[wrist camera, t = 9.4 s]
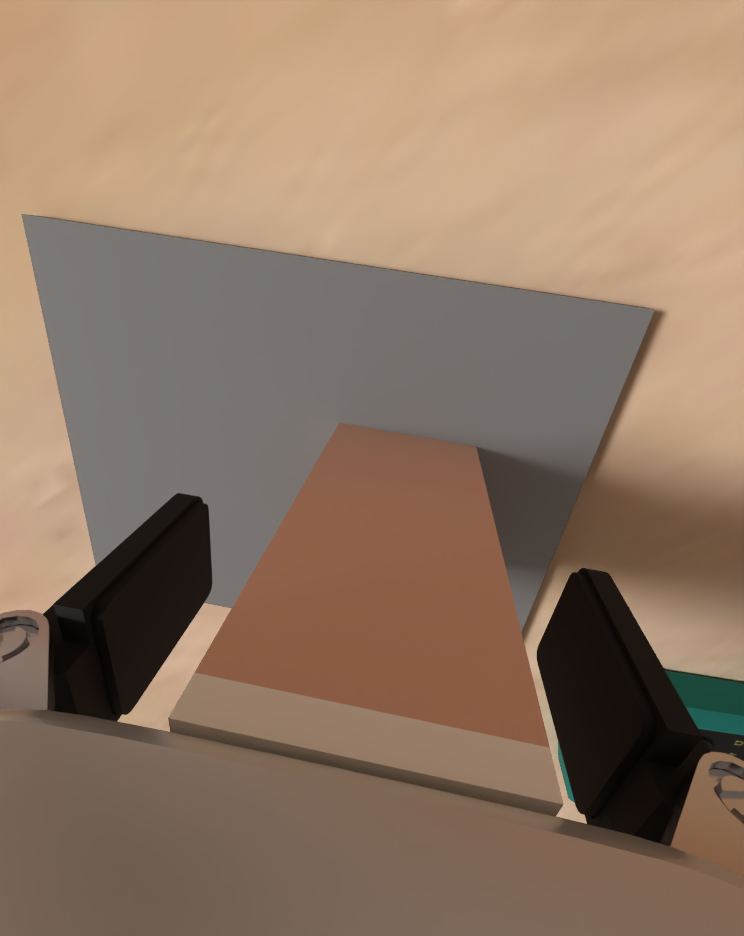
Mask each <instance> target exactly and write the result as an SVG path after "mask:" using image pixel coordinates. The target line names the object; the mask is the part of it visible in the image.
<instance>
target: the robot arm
mask: <svg viewBox="0 0 744 936" xmlns="http://www.w3.org/2000/svg"><path fill="white" fill-rule="evenodd" d="M211 589H212V562H211V543H210V523H209V507H208V505H207V504H205V503H203V500H202V498H201V497H198V496H193V495H188V494H182V493H177V494H175V495H174V496H173V497H172V498H171V499H170V500H168V501H167V502H166V503H165V504H164V505H163V506H162V507H161V508H160V509H158V510H157V511H156V512H155V513H154V514H153V515H152V516H151V517H150V518H148V519H147V520H146V521H145V522H144V523H143V524H142V525H141V526H140V527H138V528H137V529H136V530H135V531H134V532H133V533H132V534H131V535H130V536H128V537H127V538H126V539H125V540H124V541H123V542H122V543H121V544H120V545H118V546H117V547H116V548H115V549H114V550H113V551H112V552H111V553H110V554H108V555H107V556H106V557H105V558H104V559H103V560H102V561H101V562H100V563H98V564H97V565H96V566H95V567H94V568H93V569H92V570H91V571H90V572H88V573H87V574H86V575H85V576H84V577H83V578H82V579H81V580H80V581H78V582H77V583H76V584H75V585H74V586H73V587H72V588H71V589H70V590H69V591H67V592H66V593H65V594H64V595H63V596H62V597H61V598H60V599H59V600H57V601H56V602H55V603H54V604H53V606H51V607H50V608H49V609H48V610H47V611H46V612H45V613H44V614H43V615H42V614H41V613H38V612H35V611H31V610H16V611H11V612H5V613H1V614H0V936H744V761H742V760H741V759H739V758H736V757H734V756H731V755H729V754H726V753H720V752H709V750H708V748H707V746H706V745H705V743H704V741H703V739H702V738H703V736H702V735H701V733H700V731H699V729H698V728H697V726H696V724H695V722H694V721H693V719H692V717H691V715H690V714H689V712H688V710H687V708H686V707H685V705H684V703H683V701H682V700H681V698H680V696H679V694H678V693H677V691H676V689H675V687H674V686H673V684H672V682H671V680H670V679H669V677H668V675H667V674H666V672H665V670H664V668H663V667H662V665H661V663H660V661H659V660H658V658H657V656H656V654H655V653H654V651H653V649H652V647H651V646H650V644H649V642H648V640H647V639H646V637H645V635H644V633H643V632H642V630H641V628H640V626H639V625H638V623H637V621H636V619H635V618H634V616H633V614H632V612H631V611H630V609H629V607H628V606H627V604H626V602H625V600H624V599H623V597H622V595H621V593H620V592H619V590H618V588H617V586H616V585H615V583H614V581H613V579H612V578H611V576H610V575H609V574H608V573H606V572H602V571H597V570H592V569H586V568H581V569H580V570H579V571H578V573H576V572H574V573H572V574H571V575H570V577H569V579H568V581H567V583H566V586H565V588H564V590H563V592H562V594H561V597H560V599H559V601H558V603H557V606H556V608H555V610H554V612H553V615H552V617H551V619H550V621H549V623H548V626H547V628H546V630H545V632H544V635H543V637H542V639H541V641H540V643H539V646H538V649H537V662H538V666H539V670H540V674H541V677H542V681H543V685H544V689H545V692H546V696H547V700H548V704H549V708H550V711H551V715H552V719H553V723H554V726H555V730H556V734H557V738H558V741H559V745H560V749H561V753H562V756H563V760H564V764H565V768H566V771H567V775H568V779H569V783H570V786H571V790H572V794H573V798H574V801H575V805H576V808H577V809H578V811H579V812H580V813H581V814H584V815H585V817H586V821H587V824H584V823H580V822H576V821H572V820H568V819H564V818H559V817H555V816H551V815H547V814H543V813H538V812H534V811H529V810H525V809H520V808H516V807H511V806H507V805H503V804H498V803H494V802H489V801H485V800H480V799H476V798H471V797H467V796H462V795H458V794H453V793H449V792H445V791H440V790H436V789H431V788H427V787H422V786H418V785H413V784H409V783H404V782H399V781H395V780H390V779H386V778H381V777H377V776H372V775H367V774H363V773H358V772H354V771H349V770H345V769H340V768H335V767H331V766H326V765H322V764H317V763H312V762H308V761H303V760H299V759H294V758H289V757H285V756H280V755H276V754H271V753H266V752H261V751H257V750H252V749H247V748H243V747H238V746H233V745H228V744H224V743H219V742H214V741H210V740H205V739H200V738H195V737H191V736H186V735H181V734H177V733H172V732H167V731H162V730H158V729H152V728H147V727H142V726H137V725H132V724H126V723H121V722H117V721H118V719H119V718H120V716H121V715H122V714H124V715H126V714H128V713H129V712H131V710H132V709H133V708H134V707H135V705H136V704H137V702H138V701H139V699H140V698H141V696H142V695H143V693H144V692H145V690H146V689H147V687H148V686H149V684H150V683H151V681H152V680H153V678H154V677H155V675H156V674H157V672H158V671H159V669H160V668H161V666H162V665H163V663H164V662H165V660H166V659H167V657H168V656H169V654H170V653H171V651H172V650H173V648H174V647H175V645H176V644H177V642H178V641H179V639H180V638H181V636H182V635H183V633H184V632H185V630H186V629H187V627H188V626H189V624H190V623H191V621H192V620H193V619H194V617H195V616H196V614H197V613H198V611H199V610H200V608H201V607H202V605H203V604H204V602H205V601H206V599H207V598H208V596H209V594H210V592H211Z"/></svg>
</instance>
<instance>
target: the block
mask: <svg viewBox="0 0 744 936" xmlns="http://www.w3.org/2000/svg"><path fill="white" fill-rule="evenodd" d="M168 719H169V726H170V732H172V733H177V734H181V735H186V736H191V737H195V738H200V739H205V740H210V741H214V742H219V743H224V744H228V745H233V746H238V747H243V748H247V749H252V750H257V751H261V752H266V753H271V754H276V755H280V756H285V757H289V758H294V759H299V760H303V761H308V762H312V763H317V764H322V765H326V766H331V767H335V768H340V769H345V770H349V771H354V772H358V773H363V774H367V775H372V776H377V777H381V778H386V779H390V780H395V781H399V782H404V783H409V784H413V785H418V786H422V787H427V788H431V789H436V790H440V791H445V792H449V793H453V794H458V795H462V796H467V797H471V798H476V799H480V800H485V801H489V802H494V803H498V804H503V805H507V806H511V807H516V808H520V809H525V810H529V811H534V812H538V813H543V814H547V815H551V816H555V817H556V815H557V814H558V812H559V810H560V809H561V807H562V806H563V800H562V796H561V792H560V788H559V784H558V780H557V776H556V772H555V768H554V763H553V759H552V755H551V751H550V747H549V743H548V739H547V735H546V731H545V727H544V723H543V718H542V714H541V710H540V706H539V702H538V698H537V694H536V690H535V686H534V682H533V677H532V673H531V669H530V665H529V661H528V657H527V653H526V649H525V645H524V641H523V637H522V632H521V628H520V624H519V620H518V616H517V612H516V608H515V604H514V600H513V596H512V591H511V587H510V583H509V579H508V575H507V571H506V567H505V563H504V559H503V555H502V551H501V546H500V542H499V538H498V534H497V530H496V526H495V522H494V518H493V514H492V510H491V505H490V501H489V497H488V493H487V489H486V485H485V481H484V477H483V473H482V469H481V465H480V460H479V456H478V452H477V448H476V447H475V446H469V445H463V444H458V443H452V442H446V441H440V440H435V439H429V438H423V437H418V436H412V435H406V434H401V433H395V432H389V431H384V430H378V429H372V428H366V427H361V426H355V425H349V424H344V423H339V424H338V426H337V428H336V429H335V431H334V433H333V435H332V436H331V438H330V440H329V441H328V443H327V445H326V447H325V448H324V450H323V452H322V454H321V455H320V457H319V459H318V460H317V462H316V464H315V466H314V467H313V469H312V471H311V473H310V474H309V476H308V478H307V479H306V481H305V483H304V485H303V486H302V488H301V490H300V492H299V493H298V495H297V497H296V498H295V500H294V502H293V504H292V505H291V507H290V509H289V511H288V512H287V514H286V516H285V517H284V519H283V521H282V523H281V524H280V526H279V528H278V530H277V531H276V533H275V535H274V536H273V538H272V540H271V542H270V543H269V545H268V547H267V549H266V550H265V552H264V554H263V555H262V557H261V559H260V561H259V562H258V564H257V566H256V568H255V569H254V571H253V573H252V574H251V576H250V578H249V580H248V581H247V583H246V585H245V587H244V588H243V590H242V592H241V593H240V595H239V597H238V599H237V600H236V602H235V604H234V606H233V607H232V609H231V611H230V612H229V614H228V616H227V618H226V619H225V621H224V623H223V625H222V626H221V628H220V630H219V631H218V633H217V635H216V637H215V638H214V640H213V642H212V644H211V645H210V647H209V649H208V650H207V652H206V654H205V656H204V657H203V659H202V661H201V663H200V664H199V666H198V668H197V669H196V671H195V673H194V675H193V676H192V678H191V680H190V682H189V683H188V685H187V687H186V688H185V690H184V692H183V694H182V695H181V697H180V699H179V701H178V702H177V704H176V706H175V708H174V709H173V711H172V713H171V714H170V716H169V718H168Z"/></svg>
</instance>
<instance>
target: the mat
mask: <svg viewBox="0 0 744 936" xmlns="http://www.w3.org/2000/svg"><path fill="white" fill-rule="evenodd" d="M22 218H23V223H24V228H25V233H26V237H27V242H28V247H29V252H30V256H31V261H32V266H33V271H34V275H35V280H36V285H37V289H38V294H39V299H40V304H41V308H42V313H43V318H44V323H45V327H46V332H47V337H48V342H49V346H50V351H51V356H52V360H53V365H54V370H55V375H56V379H57V384H58V389H59V394H60V398H61V403H62V408H63V413H64V417H65V422H66V427H67V432H68V436H69V441H70V446H71V450H72V455H73V460H74V465H75V469H76V474H77V479H78V484H79V488H80V493H81V498H82V503H83V507H84V512H85V517H86V521H87V526H88V531H89V536H90V540H91V545H92V550H93V555H94V559H95V564H96V565H97V564H98V563H100V562H101V561H102V560H103V559H104V558H105V557H106V556H107V555H108V554H110V553H111V552H112V551H113V550H114V549H115V548H116V547H117V546H118V545H120V544H121V543H122V542H123V541H124V540H125V539H126V538H127V537H128V536H130V535H131V534H132V533H133V532H134V531H135V530H136V529H137V528H138V527H140V526H141V525H142V524H143V523H144V522H145V521H146V520H147V519H148V518H150V517H151V516H152V515H153V514H154V513H155V512H156V511H157V510H158V509H160V508H161V507H162V506H163V505H164V504H165V503H166V502H167V501H168V500H170V499H171V498H172V497H173V496H174V495H175V494H177V493H182V494H188V495H193V496H198V497H201V498H202V500H203V503H205V504H207V505H208V507H209V523H210V543H211V562H212V589H211V592H210V594H209V596H208V598H207V599H206V601H205V602H204V603H208V604H213V605H218V606H223V607H228V608H232V607H233V606H234V604H235V602H236V600H237V599H238V597H239V595H240V593H241V592H242V590H243V588H244V587H245V585H246V583H247V581H248V580H249V578H250V576H251V574H252V573H253V571H254V569H255V568H256V566H257V564H258V562H259V561H260V559H261V557H262V555H263V554H264V552H265V550H266V549H267V547H268V545H269V543H270V542H271V540H272V538H273V536H274V535H275V533H276V531H277V530H278V528H279V526H280V524H281V523H282V521H283V519H284V517H285V516H286V514H287V512H288V511H289V509H290V507H291V505H292V504H293V502H294V500H295V498H296V497H297V495H298V493H299V492H300V490H301V488H302V486H303V485H304V483H305V481H306V479H307V478H308V476H309V474H310V473H311V471H312V469H313V467H314V466H315V464H316V462H317V460H318V459H319V457H320V455H321V454H322V452H323V450H324V448H325V447H326V445H327V443H328V441H329V440H330V438H331V436H332V435H333V433H334V431H335V429H336V428H337V426H338V424H339V423H344V424H349V425H355V426H361V427H366V428H372V429H378V430H384V431H389V432H395V433H401V434H406V435H412V436H418V437H423V438H429V439H435V440H440V441H446V442H452V443H458V444H463V445H469V446H475V447H476V448H477V452H478V456H479V460H480V465H481V469H482V473H483V477H484V481H485V485H486V489H487V493H488V497H489V501H490V505H491V510H492V514H493V518H494V522H495V526H496V530H497V534H498V538H499V542H500V546H501V551H502V555H503V559H504V563H505V567H506V571H507V575H508V579H509V583H510V587H511V591H512V596H513V600H514V604H515V608H516V612H517V616H518V620H519V624H520V628H521V632H522V630H523V627H524V625H525V622H526V620H527V618H528V615H529V613H530V610H531V608H532V606H533V603H534V601H535V598H536V596H537V593H538V591H539V589H540V586H541V584H542V581H543V579H544V577H545V574H546V572H547V569H548V567H549V564H550V562H551V560H552V557H553V555H554V552H555V550H556V548H557V545H558V543H559V540H560V538H561V535H562V533H563V531H564V528H565V526H566V523H567V521H568V519H569V516H570V514H571V511H572V509H573V507H574V504H575V502H576V499H577V497H578V494H579V492H580V490H581V487H582V485H583V482H584V480H585V478H586V475H587V473H588V470H589V468H590V465H591V463H592V461H593V458H594V456H595V453H596V451H597V449H598V446H599V444H600V441H601V439H602V436H603V434H604V432H605V429H606V427H607V424H608V422H609V420H610V417H611V415H612V412H613V410H614V407H615V405H616V403H617V400H618V398H619V395H620V393H621V391H622V388H623V386H624V383H625V381H626V378H627V376H628V374H629V371H630V369H631V366H632V364H633V362H634V359H635V357H636V354H637V352H638V349H639V347H640V345H641V342H642V340H643V337H644V335H645V333H646V330H647V328H648V325H649V323H650V320H651V318H652V316H653V313H654V311H655V310H653V309H649V308H643V307H637V306H630V305H623V304H617V303H610V302H604V301H597V300H590V299H584V298H577V297H571V296H564V295H557V294H551V293H544V292H537V291H531V290H524V289H518V288H511V287H504V286H498V285H491V284H485V283H478V282H471V281H465V280H458V279H452V278H445V277H438V276H432V275H425V274H418V273H412V272H405V271H399V270H392V269H385V268H379V267H372V266H366V265H359V264H352V263H346V262H339V261H332V260H326V259H319V258H313V257H306V256H299V255H293V254H286V253H280V252H273V251H266V250H260V249H253V248H246V247H240V246H233V245H227V244H220V243H213V242H207V241H200V240H194V239H187V238H180V237H174V236H167V235H160V234H154V233H147V232H141V231H134V230H127V229H121V228H114V227H108V226H101V225H94V224H88V223H81V222H74V221H68V220H61V219H55V218H48V217H41V216H34V215H25V214H22Z"/></svg>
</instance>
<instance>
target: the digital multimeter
mask: <svg viewBox="0 0 744 936" xmlns="http://www.w3.org/2000/svg"><path fill="white" fill-rule="evenodd" d="M665 672H666V674H667V675H668V677H669V679H670V680H671V682H672V684H673V686H674V687H675V689H676V691H677V693H678V694H679V696H680V698H681V700H682V701H683V703H684V705H685V707H686V708H687V710H688V712H689V714H690V715H691V717H692V719H693V721H694V722H695V724H696V726H697V728H698V729H699V731H700V733H701V735H702V736H703V738H702V739H703V741H704V743H705V745H706V746H707V748H708V750H709V752H720V753H726V754H729V755H731V756H734V757H736V758H739V759H741V760H742V761H744V683H743V682H736V681H730V680H724V679H718V678H712V677H706V676H700V675H693V674H686V673H679V672H673V671H668V670H665ZM558 756H559V763H560V766H561V770H562V774H563V778H564V782H565V786H566V790H567V794H568V798H569V799H570V800H571V801H573V802H575V801H574V798H573V794H572V790H571V786H570V783H569V779H568V775H567V771H566V768H565V764H564V760H563V756H562V753H561V749H560V745H559V741H558Z"/></svg>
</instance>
